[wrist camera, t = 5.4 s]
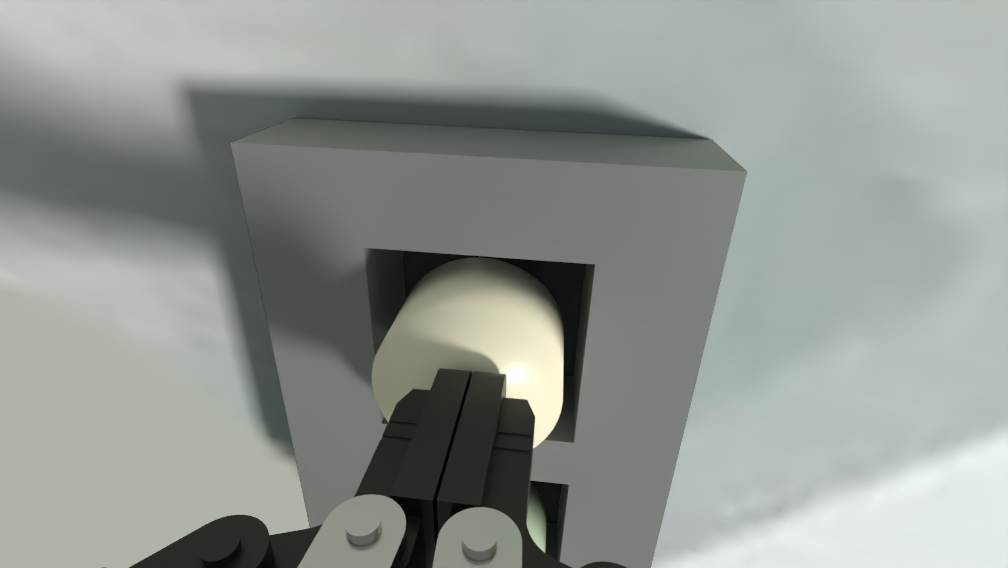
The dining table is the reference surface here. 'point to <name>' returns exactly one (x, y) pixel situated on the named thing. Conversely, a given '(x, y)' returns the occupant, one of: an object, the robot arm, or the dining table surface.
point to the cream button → (477, 336)
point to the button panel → (505, 234)
